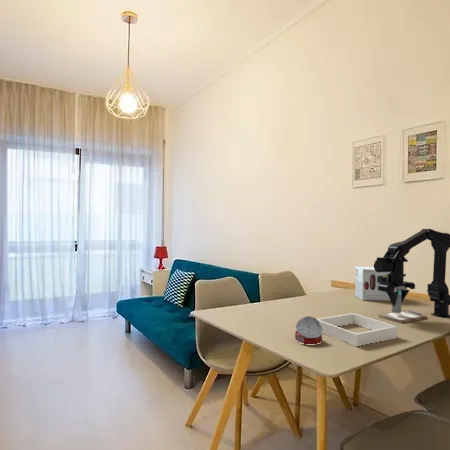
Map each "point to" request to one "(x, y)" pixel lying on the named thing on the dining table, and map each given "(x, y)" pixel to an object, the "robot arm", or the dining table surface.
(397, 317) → the clipboard
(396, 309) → the marker
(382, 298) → the supplement box
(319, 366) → the dining table surface
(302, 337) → the canned food
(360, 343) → the lotus tray rim
